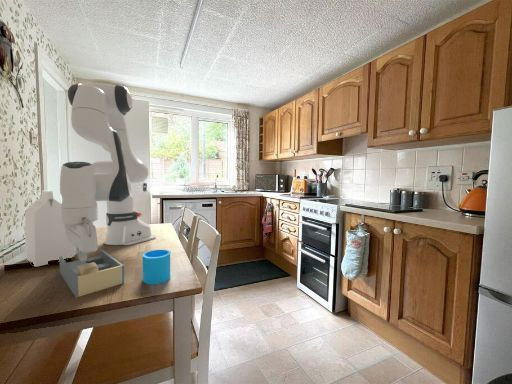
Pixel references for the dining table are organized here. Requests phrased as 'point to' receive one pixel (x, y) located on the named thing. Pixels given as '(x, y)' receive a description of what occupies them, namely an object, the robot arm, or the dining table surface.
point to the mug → (156, 266)
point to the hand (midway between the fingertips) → (82, 259)
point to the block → (87, 268)
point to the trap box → (92, 274)
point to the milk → (45, 231)
